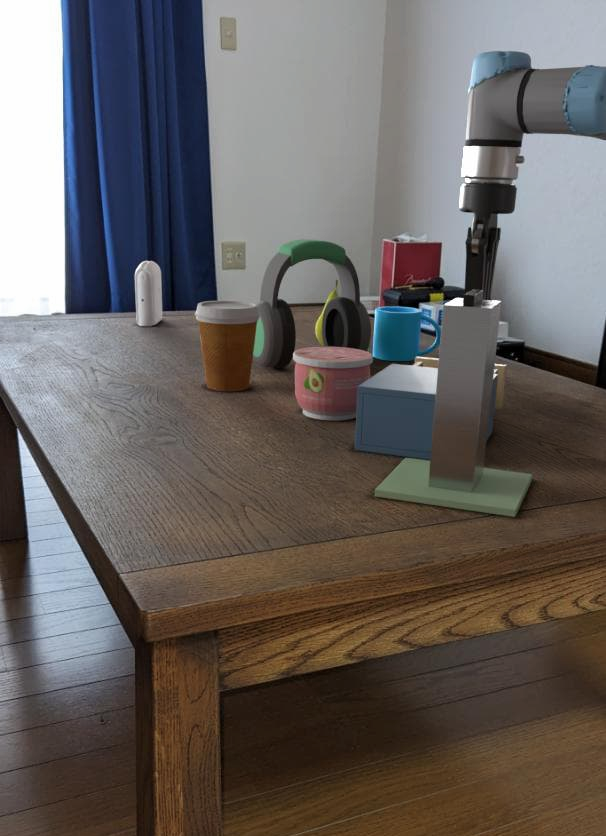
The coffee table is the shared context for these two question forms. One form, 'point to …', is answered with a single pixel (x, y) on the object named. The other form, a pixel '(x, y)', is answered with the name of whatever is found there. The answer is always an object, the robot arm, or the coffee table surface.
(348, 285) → the headphones
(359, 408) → the cabinet
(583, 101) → the robot arm
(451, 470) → the silver box
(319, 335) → the fruit
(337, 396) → the container
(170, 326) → the coffee table surface
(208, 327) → the disposable coffee cup
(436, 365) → the drawer
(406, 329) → the mug
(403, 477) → the mat
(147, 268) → the white pill-shaped pillar
